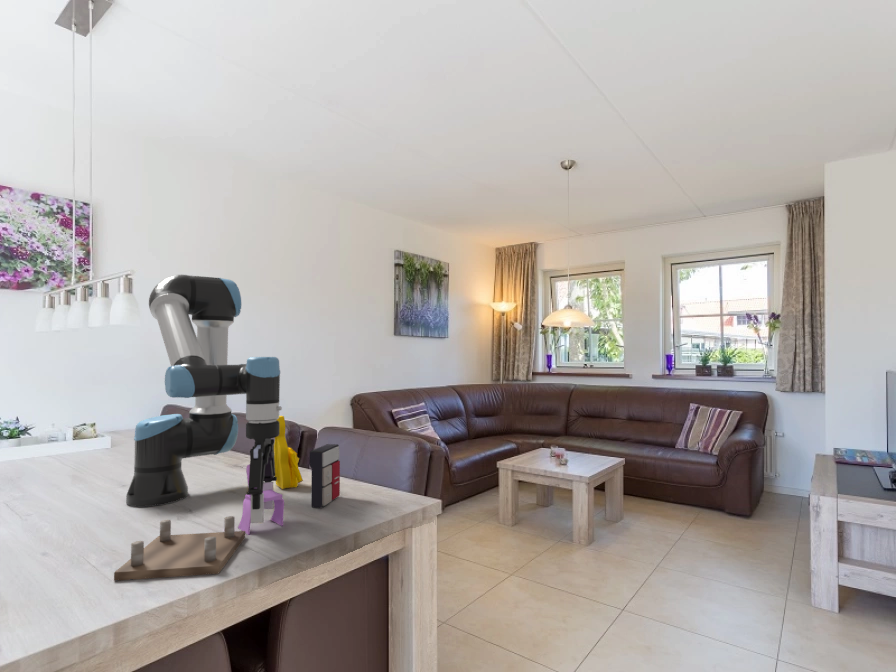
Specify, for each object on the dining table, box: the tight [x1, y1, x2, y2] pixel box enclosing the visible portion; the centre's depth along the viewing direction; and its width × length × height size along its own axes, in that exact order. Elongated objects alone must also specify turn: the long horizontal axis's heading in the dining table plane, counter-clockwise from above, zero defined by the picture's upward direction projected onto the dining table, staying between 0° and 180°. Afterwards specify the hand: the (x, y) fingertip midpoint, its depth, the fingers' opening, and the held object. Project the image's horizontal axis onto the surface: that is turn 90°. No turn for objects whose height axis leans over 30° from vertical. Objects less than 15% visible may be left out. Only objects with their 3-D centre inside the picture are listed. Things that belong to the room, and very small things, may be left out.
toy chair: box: [237, 463, 285, 535], centre depth 115 cm, size 8×9×15 cm
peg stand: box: [113, 515, 246, 581], centre depth 98 cm, size 18×18×6 cm
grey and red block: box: [309, 443, 341, 509], centre depth 134 cm, size 11×4×15 cm, turn 168°
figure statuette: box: [274, 415, 304, 490], centre depth 150 cm, size 18×8×22 cm, turn 37°
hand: (262, 515), depth 115 cm, fingers closed on toy chair, 9 cm apart
